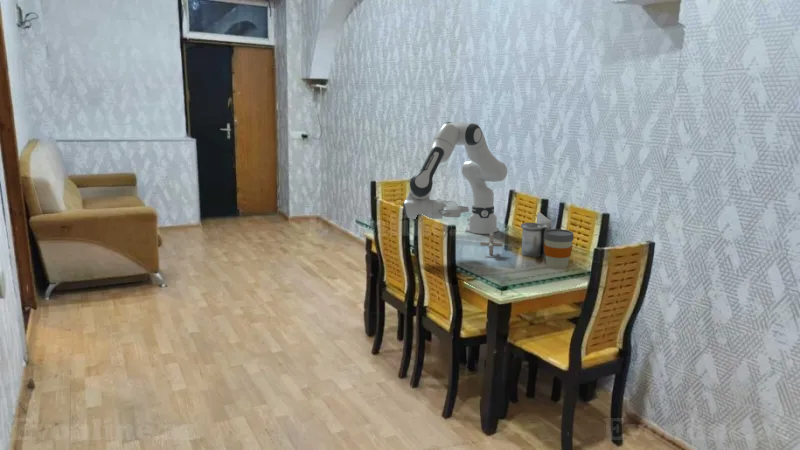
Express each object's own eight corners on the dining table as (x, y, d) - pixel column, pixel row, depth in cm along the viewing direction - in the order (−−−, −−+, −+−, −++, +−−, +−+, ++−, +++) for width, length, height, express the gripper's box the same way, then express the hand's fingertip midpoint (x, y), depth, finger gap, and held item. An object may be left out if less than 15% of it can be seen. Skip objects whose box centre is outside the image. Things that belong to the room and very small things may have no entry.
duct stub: (515, 248, 271) (517, 212, 267) (538, 248, 271) (539, 212, 267) (524, 260, 252) (526, 221, 248) (549, 260, 252) (551, 221, 248)
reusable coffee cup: (537, 262, 249) (538, 229, 245) (562, 260, 252) (564, 228, 248) (550, 270, 237) (552, 236, 233) (577, 268, 240) (579, 234, 236)
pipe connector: (501, 258, 256) (502, 237, 254) (479, 257, 258) (480, 236, 256) (502, 252, 265) (502, 231, 263) (481, 251, 267) (481, 231, 265)
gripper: (440, 207, 246) (471, 206, 246) (436, 198, 266) (465, 198, 266) (440, 220, 247) (471, 220, 247) (436, 211, 267) (465, 211, 267)
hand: (468, 209), depth 257 cm, fingers closed
